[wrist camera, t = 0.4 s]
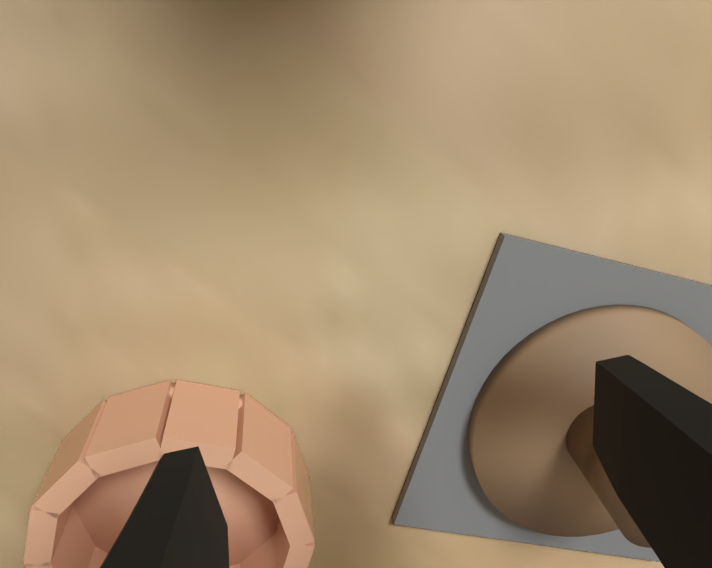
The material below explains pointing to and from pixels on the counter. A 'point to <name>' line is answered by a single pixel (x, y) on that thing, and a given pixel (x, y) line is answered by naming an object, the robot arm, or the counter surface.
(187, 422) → the bowl
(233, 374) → the counter surface
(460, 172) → the counter surface
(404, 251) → the counter surface
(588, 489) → the lid
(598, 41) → the counter surface
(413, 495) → the mat
